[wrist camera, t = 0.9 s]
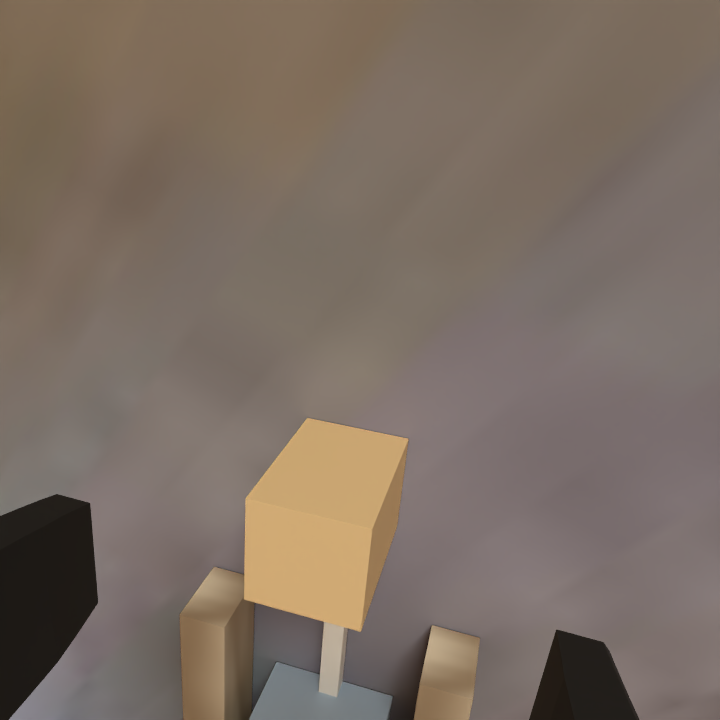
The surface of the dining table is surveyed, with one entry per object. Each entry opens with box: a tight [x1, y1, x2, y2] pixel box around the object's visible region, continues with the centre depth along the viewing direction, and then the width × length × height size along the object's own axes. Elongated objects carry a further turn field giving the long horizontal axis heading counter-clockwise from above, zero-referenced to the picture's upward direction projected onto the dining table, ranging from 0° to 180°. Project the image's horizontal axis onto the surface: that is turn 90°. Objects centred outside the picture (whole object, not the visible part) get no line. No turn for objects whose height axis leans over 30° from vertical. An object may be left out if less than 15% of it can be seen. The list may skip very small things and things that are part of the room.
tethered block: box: [244, 418, 409, 720], centre depth 19 cm, size 4×15×6 cm, turn 174°
